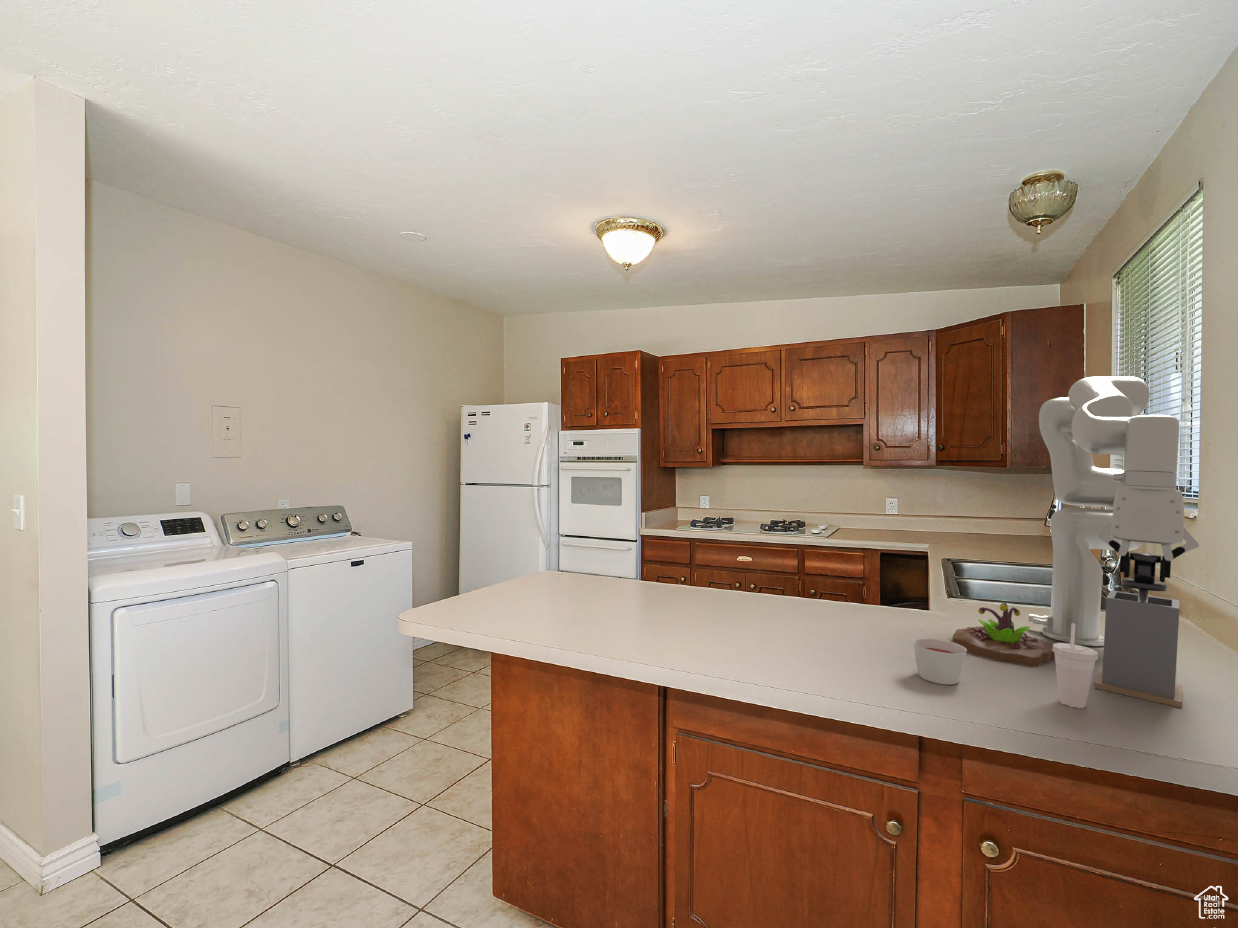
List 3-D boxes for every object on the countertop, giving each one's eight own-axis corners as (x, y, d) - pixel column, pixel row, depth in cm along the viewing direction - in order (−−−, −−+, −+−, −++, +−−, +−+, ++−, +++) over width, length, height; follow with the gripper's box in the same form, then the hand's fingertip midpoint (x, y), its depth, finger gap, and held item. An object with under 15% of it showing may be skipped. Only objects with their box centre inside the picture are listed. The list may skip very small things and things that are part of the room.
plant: (939, 648, 135) (941, 598, 135) (965, 632, 149) (968, 587, 148) (1047, 674, 121) (1050, 618, 120) (1065, 653, 135) (1068, 604, 134)
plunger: (1112, 682, 113) (1119, 553, 113) (1115, 673, 118) (1122, 549, 118) (1163, 694, 108) (1170, 558, 108) (1163, 684, 113) (1170, 555, 113)
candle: (903, 668, 119) (905, 637, 119) (949, 671, 119) (951, 639, 119) (925, 686, 110) (927, 652, 110) (975, 688, 110) (977, 654, 110)
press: (1094, 687, 113) (1099, 597, 113) (1100, 672, 122) (1104, 588, 121) (1181, 707, 105) (1187, 610, 104) (1181, 689, 114) (1186, 600, 113)
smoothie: (1040, 696, 108) (1044, 618, 107) (1073, 696, 108) (1078, 618, 108) (1070, 711, 101) (1074, 628, 101) (1105, 711, 102) (1110, 629, 102)
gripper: (1090, 479, 116) (1085, 573, 116) (1213, 484, 104) (1207, 589, 104) (1094, 479, 121) (1089, 569, 121) (1211, 484, 110) (1206, 584, 110)
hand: (1144, 577), depth 113 cm, fingers closed on plunger, 4 cm apart
